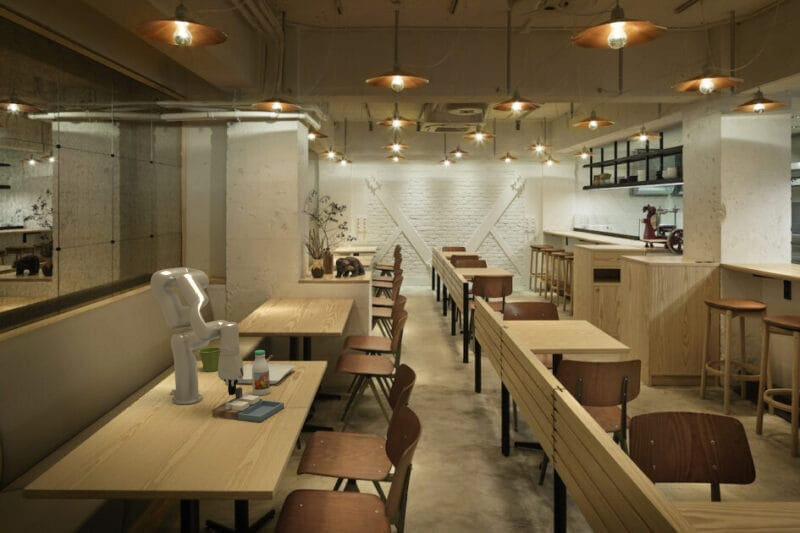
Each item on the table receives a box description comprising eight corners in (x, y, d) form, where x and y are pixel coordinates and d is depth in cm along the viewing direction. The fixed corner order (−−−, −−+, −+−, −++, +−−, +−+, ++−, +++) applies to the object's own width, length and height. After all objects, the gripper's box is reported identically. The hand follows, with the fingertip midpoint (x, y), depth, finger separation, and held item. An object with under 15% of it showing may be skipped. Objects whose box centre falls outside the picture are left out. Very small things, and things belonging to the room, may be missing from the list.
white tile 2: (243, 403, 252) (242, 398, 252) (249, 399, 257) (249, 395, 257) (253, 404, 251) (252, 399, 251) (259, 400, 255) (259, 396, 255)
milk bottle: (249, 394, 274) (247, 352, 272) (259, 390, 281) (257, 348, 279) (263, 396, 271) (261, 353, 269) (273, 391, 278) (271, 349, 276)
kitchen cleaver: (260, 355, 345) (277, 354, 344) (261, 357, 345) (277, 356, 344) (246, 367, 321) (264, 366, 320) (246, 369, 321) (264, 368, 320)
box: (237, 419, 241) (237, 413, 241) (262, 405, 258) (262, 400, 258) (260, 422, 238) (260, 416, 238) (284, 408, 255) (284, 402, 254)
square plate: (246, 370, 316) (246, 363, 316) (296, 371, 312) (296, 364, 312) (224, 385, 290) (224, 377, 289) (278, 387, 286) (278, 379, 285)
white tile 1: (231, 409, 245) (231, 404, 245) (238, 405, 250) (238, 401, 249) (242, 410, 243) (241, 406, 243) (249, 406, 248) (248, 402, 248)
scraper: (225, 409, 244) (224, 393, 244) (248, 397, 259) (247, 382, 258) (229, 409, 244) (229, 394, 243) (252, 397, 258) (251, 382, 258)
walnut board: (212, 416, 246) (212, 409, 245) (238, 402, 262) (238, 396, 262) (237, 419, 241) (236, 412, 241) (262, 405, 258) (261, 398, 258)
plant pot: (217, 366, 325) (216, 345, 324) (226, 370, 316) (225, 349, 315) (195, 370, 317) (194, 349, 316) (204, 374, 308) (203, 353, 307)
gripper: (209, 352, 249) (212, 395, 251) (240, 355, 244) (242, 398, 246) (221, 348, 256) (223, 390, 258) (250, 350, 251) (252, 393, 253)
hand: (232, 394), depth 252 cm, fingers closed
